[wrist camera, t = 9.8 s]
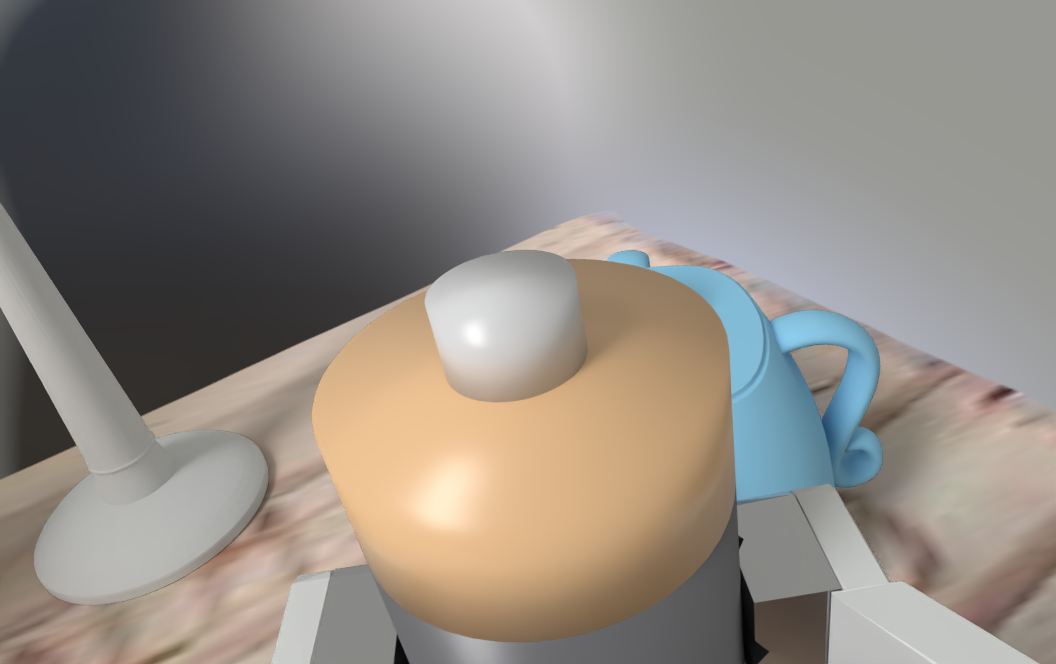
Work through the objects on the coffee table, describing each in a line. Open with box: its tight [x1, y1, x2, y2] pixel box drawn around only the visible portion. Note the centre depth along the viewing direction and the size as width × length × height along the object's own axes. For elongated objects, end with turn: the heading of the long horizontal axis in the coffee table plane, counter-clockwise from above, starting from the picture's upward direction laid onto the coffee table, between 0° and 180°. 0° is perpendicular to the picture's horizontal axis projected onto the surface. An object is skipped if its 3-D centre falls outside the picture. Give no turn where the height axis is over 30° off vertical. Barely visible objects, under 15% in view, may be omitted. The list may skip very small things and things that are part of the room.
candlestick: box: [0, 203, 269, 605], centre depth 36 cm, size 13×13×30 cm
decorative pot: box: [607, 250, 883, 500], centre depth 33 cm, size 16×16×14 cm
